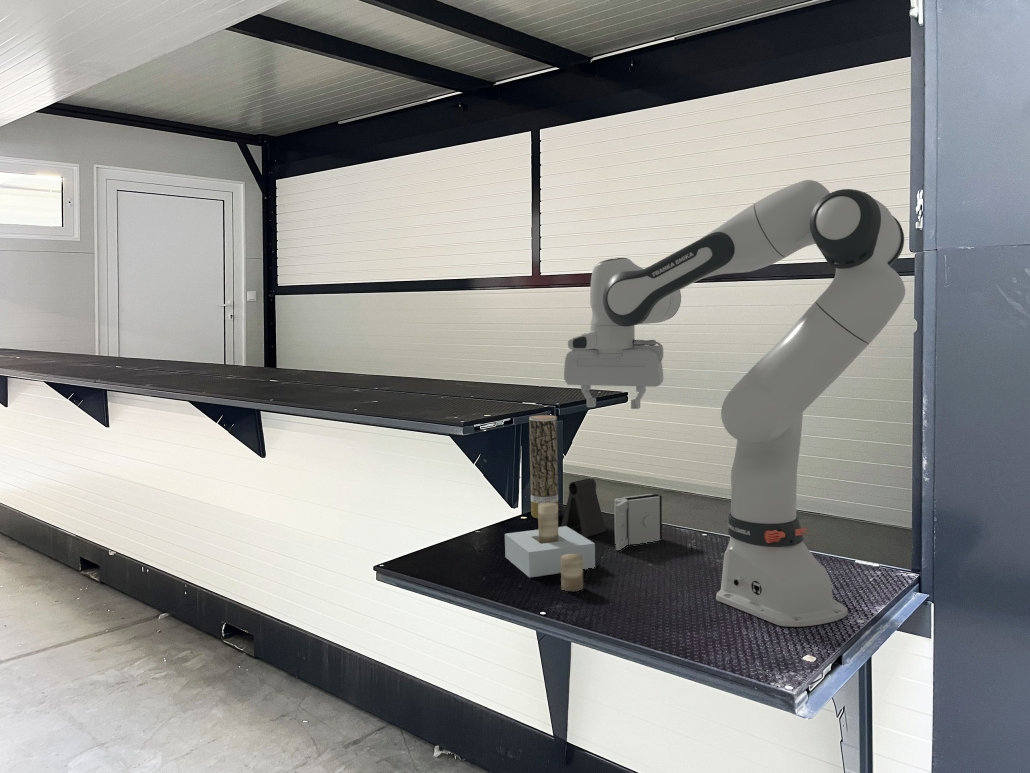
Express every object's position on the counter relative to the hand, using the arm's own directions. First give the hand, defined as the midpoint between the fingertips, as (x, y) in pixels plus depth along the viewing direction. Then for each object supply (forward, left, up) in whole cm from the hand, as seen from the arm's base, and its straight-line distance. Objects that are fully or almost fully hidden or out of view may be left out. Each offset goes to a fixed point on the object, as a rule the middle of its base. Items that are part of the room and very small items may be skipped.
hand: (613, 407), depth 164 cm
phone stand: (+20, -2, -31) cm, 37 cm away
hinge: (+6, -8, -31) cm, 33 cm away
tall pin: (+2, +14, -31) cm, 34 cm away
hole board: (+2, +14, -31) cm, 34 cm away
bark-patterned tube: (+36, +1, -31) cm, 48 cm away
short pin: (-14, +16, -31) cm, 38 cm away
